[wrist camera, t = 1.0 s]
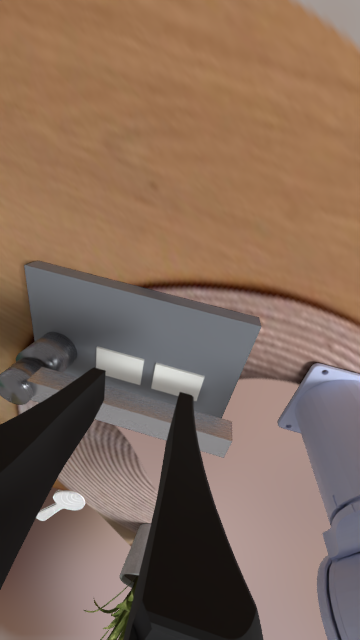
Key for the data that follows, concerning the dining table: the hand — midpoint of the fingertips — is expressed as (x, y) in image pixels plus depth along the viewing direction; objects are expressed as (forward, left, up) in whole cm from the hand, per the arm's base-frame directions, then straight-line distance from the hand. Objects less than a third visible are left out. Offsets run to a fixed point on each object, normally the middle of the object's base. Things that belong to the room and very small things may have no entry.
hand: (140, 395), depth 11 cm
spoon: (+14, +45, -10) cm, 48 cm away
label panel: (+3, +6, -9) cm, 12 cm away
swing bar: (+3, +6, -5) cm, 8 cm away
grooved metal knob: (+10, +6, -9) cm, 15 cm away
